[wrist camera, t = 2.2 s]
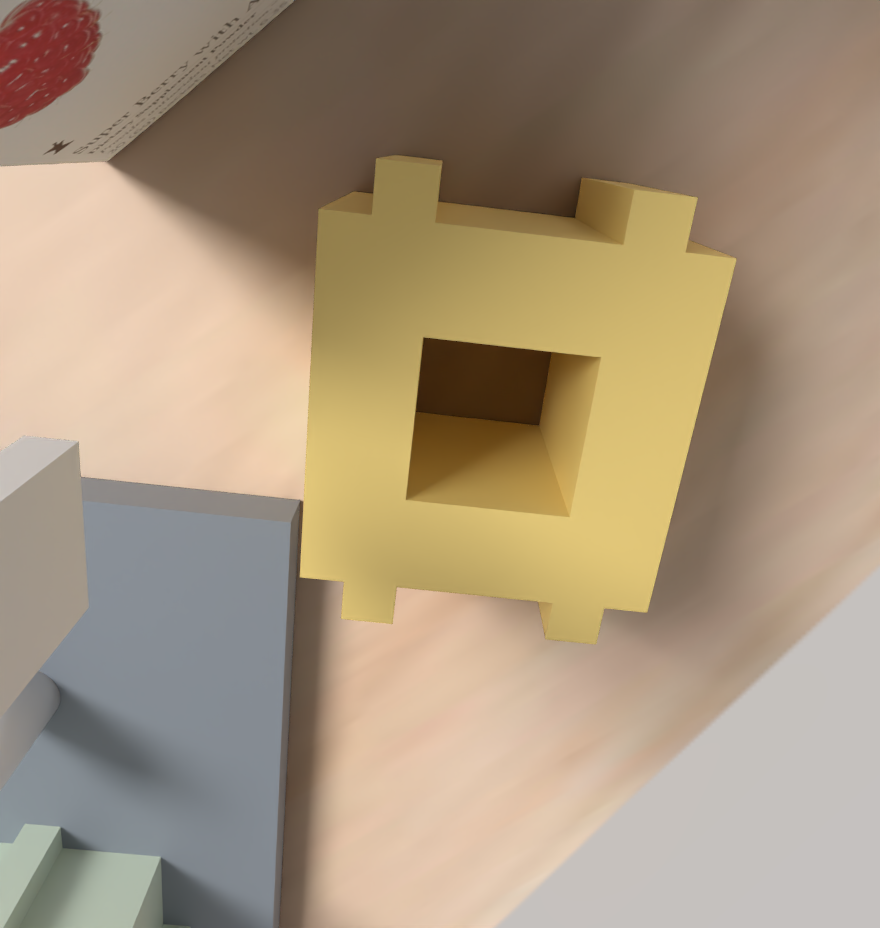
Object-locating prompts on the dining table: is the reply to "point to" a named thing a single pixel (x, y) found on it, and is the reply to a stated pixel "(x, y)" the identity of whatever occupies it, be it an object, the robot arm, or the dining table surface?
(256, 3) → the supplement box
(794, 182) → the dining table surface
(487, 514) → the loose cog
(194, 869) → the gear board
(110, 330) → the dining table surface
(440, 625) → the dining table surface
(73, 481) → the robot arm
